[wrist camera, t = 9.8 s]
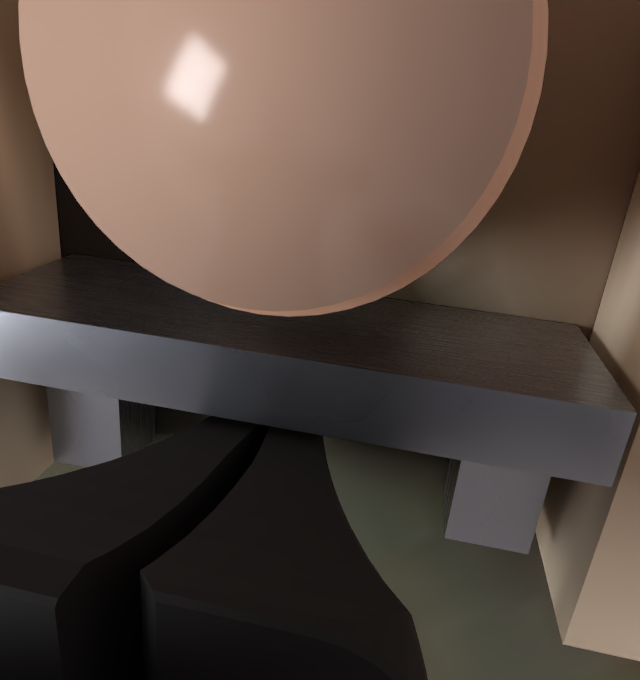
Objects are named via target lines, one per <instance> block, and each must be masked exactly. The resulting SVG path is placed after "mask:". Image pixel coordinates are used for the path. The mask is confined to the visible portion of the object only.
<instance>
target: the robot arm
mask: <svg viewBox="0 0 640 680" xmlns="http://www.w3.org/2000/svg"><path fill="white" fill-rule="evenodd" d="M0 680H428V679H427V673H426V669H425V664H424V660H423V656H422V652H421V648H420V644H419V640H418V637H417V633H416V629H415V626H414V622H413V619H412V615H411V614H410V612H409V611H408V610H407V609H406V607H405V606H404V605H403V604H402V603H401V601H400V600H399V599H398V598H397V597H396V596H395V594H394V593H393V592H392V591H391V590H390V588H389V587H388V586H387V585H386V583H385V582H384V581H383V579H382V578H381V576H380V575H379V573H378V572H377V570H376V569H375V567H374V566H373V565H372V563H371V562H370V560H369V559H368V557H367V555H366V553H365V552H364V550H363V548H362V546H361V544H360V543H359V541H358V539H357V537H356V536H355V534H354V532H353V530H352V529H351V527H350V525H349V523H348V520H347V518H346V516H345V514H344V511H343V509H342V507H341V504H340V502H339V499H338V497H337V494H336V491H335V488H334V485H333V482H332V479H331V475H330V471H329V468H328V464H327V459H326V454H325V448H324V442H323V436H322V435H317V434H311V433H305V432H300V431H294V430H289V429H283V428H277V427H272V426H266V425H260V424H255V423H249V422H244V421H238V420H232V419H227V418H221V417H216V416H211V417H209V418H207V419H205V420H203V421H202V422H199V423H197V424H195V425H193V426H191V427H189V428H187V429H185V430H183V431H181V432H179V433H177V434H175V435H173V436H171V437H169V438H167V439H165V440H163V441H160V442H158V443H156V444H153V445H151V446H149V447H146V448H144V449H141V450H138V451H136V452H133V453H130V454H128V455H125V456H122V457H120V458H117V459H114V460H111V461H107V462H104V463H100V464H97V465H94V466H90V467H87V468H83V469H80V470H76V471H73V472H69V473H66V474H62V475H58V476H54V477H50V478H45V479H41V480H36V481H32V482H27V483H22V484H17V485H11V486H6V487H1V488H0Z"/></svg>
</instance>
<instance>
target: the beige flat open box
mask: <svg viewBox="0 0 640 680" xmlns="http://www.w3.org/2000/svg"><path fill="white" fill-rule="evenodd" d="M18 3H19V0H0V281H3V280H5V279H8V278H11V277H13V276H16V275H19V274H21V273H24V272H27V271H29V270H32V269H35V268H37V267H40V266H43V265H45V264H48V263H50V262H53V261H56V260H58V259H61V248H60V237H59V225H58V214H57V202H56V191H55V179H54V168H53V159H52V157H51V155H50V153H49V151H48V149H47V146H46V144H45V142H44V139H43V137H42V134H41V131H40V128H39V126H38V123H37V120H36V118H35V115H34V112H33V108H32V104H31V100H30V96H29V93H28V89H27V85H26V81H25V76H24V69H23V62H22V55H21V48H20V38H19V10H18ZM589 343H590V345H591V346H592V348H593V349H594V351H595V352H596V354H597V355H598V356H599V358H600V359H601V361H602V362H603V364H604V365H605V367H606V368H607V370H608V371H609V373H610V374H611V375H612V377H613V378H614V380H615V381H616V383H617V384H618V386H619V387H620V389H621V390H622V392H623V393H624V394H625V396H626V397H627V399H628V400H629V402H630V403H631V405H632V406H633V408H634V409H635V410H636V412H637V415H636V418H635V421H634V424H633V427H632V429H631V432H630V435H629V438H628V441H627V444H626V447H625V450H624V453H623V456H622V459H621V461H620V464H619V467H618V470H617V473H616V476H615V479H614V482H613V485H612V487H608V486H603V485H597V484H591V483H586V482H580V481H575V480H569V479H563V478H558V477H552V476H551V479H550V482H549V486H548V489H547V493H546V496H545V499H544V503H543V506H542V510H541V513H540V516H539V520H538V523H537V527H536V530H535V532H536V536H537V540H538V545H539V549H540V553H541V557H542V561H543V565H544V569H545V573H546V578H547V582H548V586H549V590H550V594H551V598H552V602H553V606H554V610H555V615H556V619H557V623H558V627H559V631H560V635H561V639H562V643H563V644H564V645H569V646H573V647H578V648H582V649H587V650H592V651H596V652H601V653H605V654H610V655H615V656H619V657H624V658H628V659H633V660H638V661H640V170H639V173H638V176H637V180H636V183H635V187H634V190H633V194H632V197H631V200H630V204H629V207H628V211H627V214H626V218H625V221H624V224H623V228H622V231H621V235H620V238H619V242H618V245H617V248H616V252H615V255H614V259H613V262H612V266H611V269H610V272H609V276H608V279H607V283H606V286H605V290H604V293H603V296H602V300H601V303H600V307H599V310H598V314H597V317H596V320H595V324H594V327H593V331H592V334H591V337H590V341H589ZM54 462H55V461H54V457H53V448H52V438H51V429H50V420H49V410H48V401H47V392H46V386H42V385H36V384H31V383H25V382H19V381H14V380H8V379H3V378H0V488H1V487H6V486H11V485H17V484H22V483H27V482H32V481H34V480H35V479H36V478H37V477H38V476H39V475H40V474H42V473H43V472H44V471H45V470H46V469H47V468H48V467H49V466H50V465H52V464H53V463H54Z"/></svg>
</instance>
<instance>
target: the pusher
mask: <svg viewBox="0 0 640 680" xmlns="http://www.w3.org/2000/svg"><path fill="white" fill-rule="evenodd" d="M0 378H3V379H8V380H14V381H19V382H25V383H31V384H36V385H42V386H46V392H47V401H48V410H49V420H50V429H51V438H52V448H53V457H54V461H59V462H64V463H69V464H74V465H79V466H84V467H90V466H94V465H97V464H100V463H104V462H107V461H111V460H114V459H117V458H120V457H122V456H125V455H128V454H130V453H133V452H136V451H138V450H141V449H144V448H146V447H147V446H148V444H149V443H150V442H151V441H152V440H153V439H154V438H155V436H156V406H160V407H165V408H171V409H176V410H182V411H188V412H193V413H199V414H204V415H210V416H216V417H221V418H227V419H232V420H238V421H244V422H249V423H255V424H260V425H266V426H272V427H277V428H283V429H289V430H294V431H300V432H305V433H311V434H317V435H322V436H328V437H333V438H339V439H345V440H350V441H356V442H361V443H367V444H373V445H378V446H384V447H389V448H395V449H401V450H406V451H412V452H418V453H423V454H429V455H434V456H440V457H446V458H450V459H449V464H448V469H447V474H446V479H445V484H444V488H443V496H444V538H448V539H453V540H458V541H463V542H468V543H473V544H478V545H483V546H488V547H493V548H498V549H503V550H508V551H513V552H518V553H523V554H529V551H530V547H531V544H532V540H533V537H534V534H535V530H536V527H537V523H538V520H539V516H540V513H541V510H542V506H543V503H544V499H545V496H546V493H547V489H548V486H549V482H550V479H551V476H552V477H558V478H563V479H569V480H575V481H580V482H586V483H591V484H597V485H603V486H608V487H612V485H613V482H614V479H615V476H616V473H617V470H618V467H619V464H620V461H621V459H622V456H623V453H624V450H625V447H626V444H627V441H628V438H629V435H630V432H631V429H632V427H633V424H634V421H635V418H636V415H637V412H636V410H635V409H634V408H633V406H632V405H631V403H630V402H629V400H628V399H627V397H626V396H625V394H624V393H623V392H622V390H621V389H620V387H619V386H618V384H617V383H616V381H615V380H614V378H613V377H612V375H611V374H610V373H609V371H608V370H607V368H606V367H605V365H604V364H603V362H602V361H601V359H600V358H599V356H598V355H597V354H596V352H595V351H594V349H593V348H592V346H591V345H590V343H589V342H588V340H587V339H586V338H585V336H584V335H583V333H582V332H581V330H580V329H579V327H578V326H577V325H573V324H566V323H559V322H552V321H545V320H538V319H531V318H524V317H517V316H510V315H503V314H496V313H489V312H482V311H474V310H467V309H460V308H453V307H446V306H439V305H432V304H425V303H418V302H411V301H404V300H397V299H390V298H383V297H382V298H380V299H378V300H376V301H373V302H370V303H366V304H363V305H360V306H357V307H354V308H351V309H348V310H343V311H338V312H332V313H327V314H321V315H310V316H291V317H287V316H274V315H261V314H256V313H251V312H246V311H241V310H236V309H232V308H229V307H226V306H223V305H220V304H217V303H214V302H211V301H208V300H205V299H203V298H201V297H198V296H195V295H192V294H190V293H188V292H186V291H184V290H182V289H180V288H178V287H176V286H174V285H172V284H169V283H167V282H166V281H164V280H162V279H161V278H159V277H158V276H156V275H154V274H153V273H151V272H150V271H148V270H147V269H145V268H143V267H142V266H141V265H139V264H138V263H135V262H128V261H121V260H114V259H107V258H100V257H93V256H86V255H78V254H72V255H69V256H66V257H64V258H61V259H58V260H56V261H53V262H50V263H48V264H45V265H43V266H40V267H37V268H35V269H32V270H29V271H27V272H24V273H21V274H19V275H16V276H13V277H11V278H8V279H5V280H3V281H0Z"/></svg>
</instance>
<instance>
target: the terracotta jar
mask: <svg viewBox="0 0 640 680" xmlns="http://www.w3.org/2000/svg"><path fill="white" fill-rule="evenodd" d="M18 10H19V38H20V48H21V55H22V62H23V69H24V76H25V81H26V85H27V89H28V93H29V96H30V100H31V104H32V108H33V112H34V115H35V118H36V120H37V123H38V126H39V128H40V131H41V134H42V137H43V139H44V142H45V144H46V146H47V149H48V151H49V153H50V155H51V157H52V159H53V161H54V163H55V165H56V167H57V169H58V171H59V173H60V175H61V176H62V178H63V179H64V181H65V183H66V184H67V186H68V187H69V189H70V191H71V192H72V194H73V195H74V197H75V199H76V200H77V201H78V203H79V204H80V205H81V207H82V208H83V209H84V210H85V212H86V213H87V214H88V215H89V217H90V218H91V219H92V220H93V222H94V223H95V224H96V225H97V226H98V228H99V229H100V230H101V231H102V232H103V233H104V234H105V235H106V236H107V237H108V238H109V239H110V240H111V241H112V242H113V243H114V244H115V245H116V246H117V247H118V248H120V249H121V250H122V251H123V252H124V253H126V254H127V255H128V256H129V257H131V258H132V259H133V260H134V261H136V262H137V263H138V264H139V265H141V266H142V267H143V268H145V269H147V270H148V271H150V272H151V273H153V274H154V275H156V276H158V277H159V278H161V279H162V280H164V281H166V282H167V283H169V284H172V285H174V286H176V287H178V288H180V289H182V290H184V291H186V292H188V293H190V294H192V295H195V296H198V297H201V298H203V299H205V300H208V301H211V302H214V303H217V304H220V305H223V306H226V307H229V308H232V309H236V310H241V311H246V312H251V313H256V314H261V315H274V316H287V317H291V316H310V315H321V314H327V313H332V312H338V311H343V310H348V309H351V308H354V307H357V306H360V305H363V304H366V303H370V302H373V301H376V300H378V299H380V298H382V297H384V296H386V295H388V294H391V293H393V292H395V291H397V290H399V289H401V288H403V287H405V286H406V285H408V284H410V283H411V282H413V281H414V280H416V279H417V278H419V277H421V276H422V275H424V274H425V273H427V272H428V271H430V270H431V269H432V268H434V267H435V266H436V265H437V264H438V263H440V262H441V261H442V260H443V259H444V258H446V257H447V256H448V255H449V254H450V253H452V252H453V251H454V250H455V249H456V248H457V247H458V246H459V245H460V244H461V243H462V242H463V241H464V240H465V239H466V237H467V236H468V235H469V234H470V233H471V232H472V231H473V230H474V229H475V228H476V227H477V226H478V225H479V223H480V222H481V220H482V219H483V218H484V216H485V215H486V214H487V212H488V211H489V210H490V208H491V207H492V205H493V204H494V203H495V201H496V200H497V199H498V197H499V196H500V194H501V192H502V190H503V188H504V187H505V185H506V183H507V181H508V179H509V178H510V176H511V174H512V172H513V171H514V169H515V167H516V165H517V163H518V160H519V158H520V155H521V153H522V151H523V148H524V146H525V143H526V141H527V138H528V136H529V134H530V131H531V128H532V124H533V121H534V117H535V114H536V110H537V106H538V103H539V99H540V95H541V91H542V85H543V78H544V71H545V65H546V58H547V47H548V1H547V0H19V3H18Z"/></svg>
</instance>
